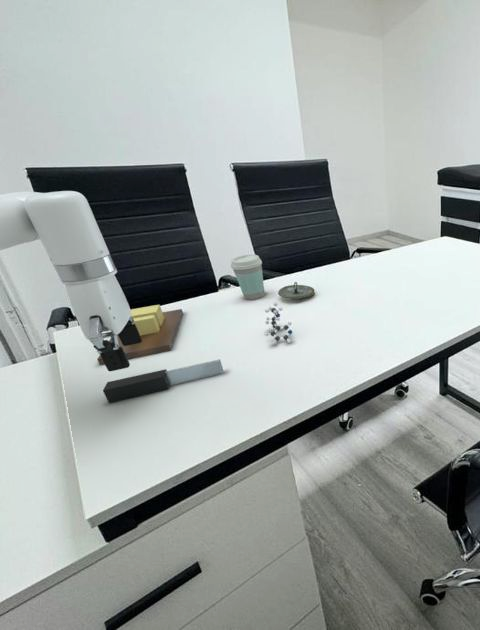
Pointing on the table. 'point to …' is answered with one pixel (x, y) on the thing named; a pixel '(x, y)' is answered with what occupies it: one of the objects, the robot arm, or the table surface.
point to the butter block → (149, 313)
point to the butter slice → (146, 325)
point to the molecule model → (277, 325)
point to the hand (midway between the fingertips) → (126, 355)
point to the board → (154, 338)
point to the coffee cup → (249, 275)
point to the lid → (296, 291)
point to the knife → (158, 380)
